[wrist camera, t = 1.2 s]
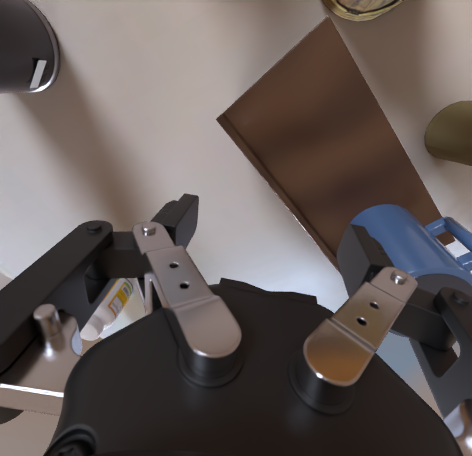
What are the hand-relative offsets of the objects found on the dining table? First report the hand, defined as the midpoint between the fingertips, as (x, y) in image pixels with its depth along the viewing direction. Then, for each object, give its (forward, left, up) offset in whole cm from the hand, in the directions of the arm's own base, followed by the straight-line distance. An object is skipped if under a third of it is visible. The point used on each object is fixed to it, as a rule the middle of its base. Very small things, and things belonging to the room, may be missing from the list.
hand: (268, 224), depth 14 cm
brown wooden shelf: (+5, +4, -20) cm, 21 cm away
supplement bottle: (+3, -35, -21) cm, 41 cm away
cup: (+12, +4, -10) cm, 16 cm away
